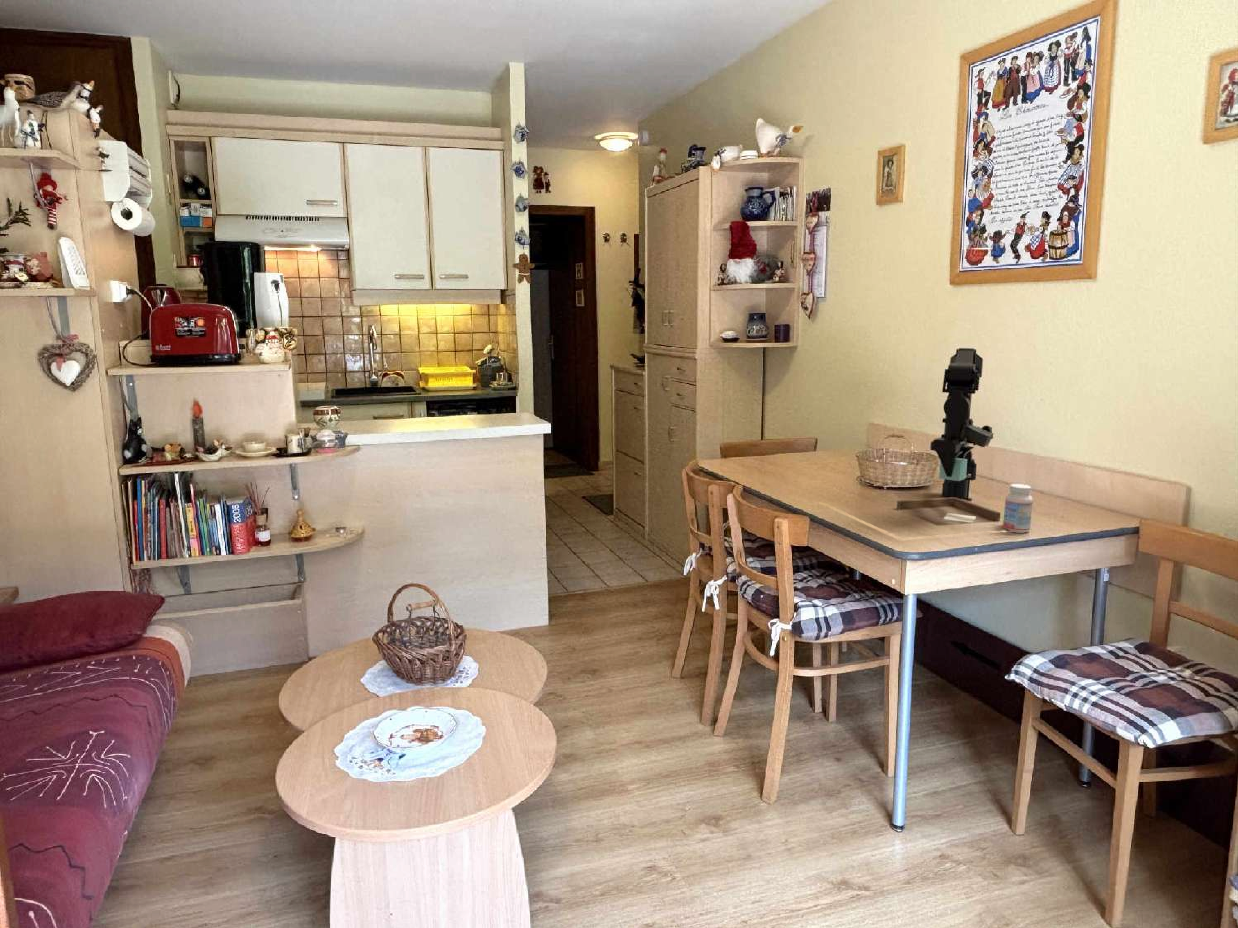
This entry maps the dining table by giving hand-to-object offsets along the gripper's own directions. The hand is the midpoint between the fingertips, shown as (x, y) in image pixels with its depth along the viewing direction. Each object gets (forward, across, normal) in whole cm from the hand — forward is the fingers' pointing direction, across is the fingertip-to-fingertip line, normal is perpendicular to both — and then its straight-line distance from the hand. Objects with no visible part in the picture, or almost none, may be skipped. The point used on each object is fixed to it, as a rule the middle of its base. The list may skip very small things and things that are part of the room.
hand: (952, 475), depth 212 cm
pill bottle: (+12, 0, -16) cm, 20 cm away
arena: (+12, +2, +1) cm, 12 cm away
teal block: (+1, 0, 0) cm, 1 cm away
